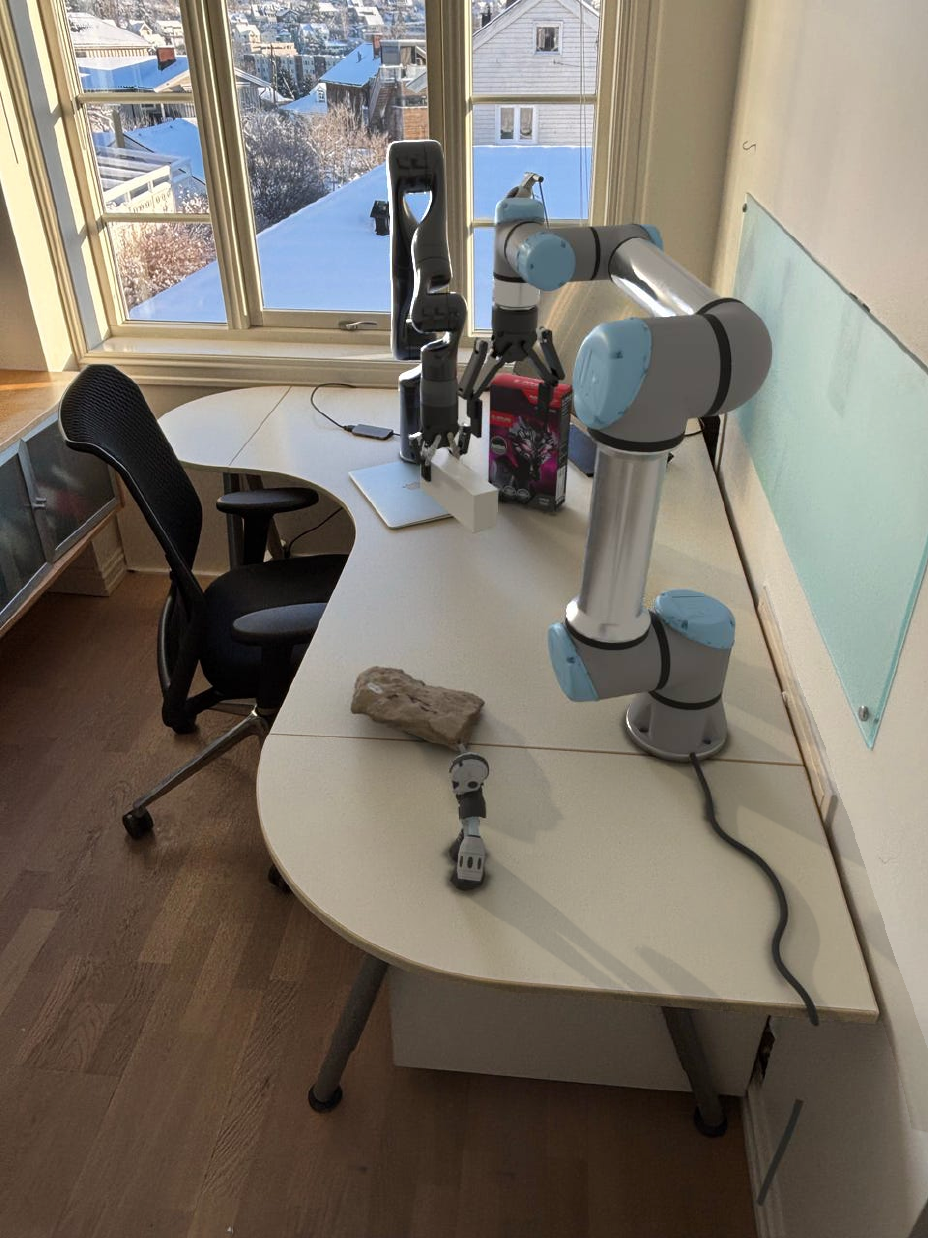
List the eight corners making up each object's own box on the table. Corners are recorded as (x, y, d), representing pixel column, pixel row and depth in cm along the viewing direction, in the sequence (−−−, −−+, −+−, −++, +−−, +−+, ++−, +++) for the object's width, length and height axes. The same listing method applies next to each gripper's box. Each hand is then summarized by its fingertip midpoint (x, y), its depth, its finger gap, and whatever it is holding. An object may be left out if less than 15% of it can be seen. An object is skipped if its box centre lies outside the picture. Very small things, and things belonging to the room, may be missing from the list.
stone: (324, 722, 139) (331, 687, 137) (361, 683, 152) (368, 651, 150) (454, 769, 135) (464, 735, 133) (480, 725, 149) (489, 694, 147)
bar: (497, 527, 179) (498, 489, 175) (473, 533, 177) (474, 495, 172) (442, 483, 195) (442, 447, 190) (420, 488, 193) (419, 452, 188)
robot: (491, 927, 112) (496, 809, 101) (451, 928, 112) (451, 811, 101) (481, 809, 129) (484, 697, 117) (446, 811, 128) (445, 698, 117)
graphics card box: (485, 497, 209) (487, 380, 194) (498, 486, 214) (502, 371, 199) (554, 514, 203) (562, 394, 188) (566, 502, 208) (575, 384, 193)
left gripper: (461, 385, 185) (461, 463, 195) (397, 398, 179) (400, 477, 189) (480, 397, 180) (479, 477, 189) (415, 411, 174) (417, 492, 184)
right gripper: (566, 287, 156) (557, 407, 168) (435, 307, 146) (436, 433, 158) (592, 299, 150) (580, 421, 163) (458, 321, 140) (457, 449, 153)
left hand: (439, 477), depth 189 cm, fingers closed on bar, 5 cm apart
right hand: (509, 427), depth 160 cm, fingers open, 13 cm apart
